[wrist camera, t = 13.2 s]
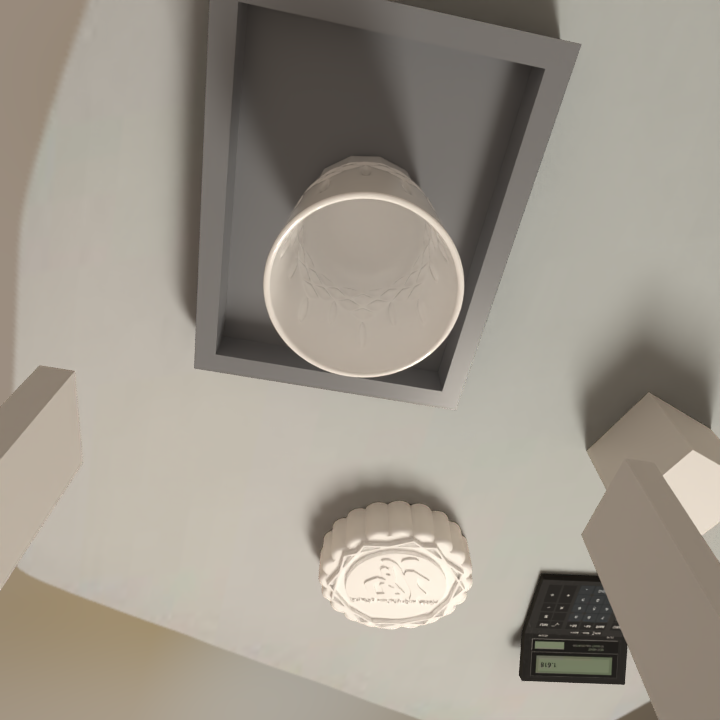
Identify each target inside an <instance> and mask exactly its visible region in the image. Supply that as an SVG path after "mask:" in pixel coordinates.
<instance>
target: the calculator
mask: <svg viewBox="0 0 720 720" xmlns="http://www.w3.org/2000/svg"><path fill="white" fill-rule="evenodd" d="M626 658H627V643H626V640H625V638H624V636H623V633H622V631H621V628H620V626H619V624H618V621H617V619H616V616H615V614H614V612H613V609H612V607H611V604H610V602H609V600H608V597H607V595H606V593H605V590H604V588H603V585H602V583H601V581H600V578H599V576H584V575H561V574H541V576H540V579H539V582H538V585H537V588H536V591H535V594H534V597H533V600H532V603H531V606H530V609H529V612H528V615H527V618H526V621H525V624H524V627H523V630H522V638H521V652H520V667H519V676H520V678H521V680H522V681H543V682H569V683H595V684H622V685H625V673H626Z"/></svg>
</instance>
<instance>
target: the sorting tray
mask: <svg viewBox="0 0 720 720" xmlns="http://www.w3.org/2000/svg"><path fill="white" fill-rule="evenodd" d="M580 47H581V44H579V43H574V42H570V41H565V40H561V39H556V38H552V37H547V36H543V35H539V34H534V33H530V32H525V31H521V30H516V29H512V28H507V27H503V26H498V25H494V24H490V23H485V22H481V21H476V20H472V19H467V18H463V17H458V16H454V15H450V14H445V13H441V12H436V11H432V10H427V9H423V8H418V7H414V6H409V5H405V4H401V3H396V2H392V1H387V0H209V21H208V45H207V69H206V93H205V117H204V142H203V166H202V190H201V214H200V239H199V263H198V287H197V311H196V335H195V360H194V368H195V369H201V370H208V371H214V372H220V373H226V374H233V375H239V376H245V377H251V378H257V379H264V380H270V381H276V382H282V383H289V384H295V385H301V386H307V387H313V388H320V389H326V390H332V391H338V392H344V393H351V394H357V395H363V396H369V397H376V398H382V399H388V400H394V401H400V402H407V403H413V404H419V405H425V406H432V407H438V408H444V409H450V410H456V409H457V406H458V403H459V400H460V397H461V394H462V392H463V389H464V386H465V383H466V380H467V377H468V374H469V371H470V368H471V365H472V362H473V359H474V357H475V354H476V351H477V348H478V345H479V342H480V339H481V336H482V333H483V330H484V327H485V324H486V321H487V319H488V316H489V313H490V310H491V307H492V304H493V301H494V298H495V295H496V292H497V289H498V286H499V284H500V281H501V278H502V275H503V272H504V269H505V266H506V263H507V260H508V257H509V254H510V251H511V249H512V246H513V243H514V240H515V237H516V234H517V231H518V228H519V225H520V222H521V219H522V216H523V214H524V211H525V208H526V205H527V202H528V199H529V196H530V193H531V190H532V187H533V184H534V181H535V178H536V176H537V173H538V170H539V167H540V164H541V161H542V158H543V155H544V152H545V149H546V146H547V143H548V141H549V138H550V135H551V132H552V129H553V126H554V123H555V120H556V117H557V114H558V111H559V108H560V106H561V103H562V100H563V97H564V94H565V91H566V88H567V85H568V82H569V79H570V76H571V73H572V71H573V68H574V65H575V62H576V59H577V56H578V53H579V50H580ZM350 156H379V157H382V158H384V159H386V160H388V161H390V162H391V163H393V164H395V165H397V166H399V167H401V168H403V169H405V170H406V171H407V172H408V174H409V175H410V177H411V178H412V179H413V181H414V182H415V183H416V184H417V185H418V186H419V187H420V188H421V190H422V191H423V192H424V194H425V195H426V197H427V198H428V199H429V201H430V203H431V204H432V206H433V207H434V209H435V211H436V213H437V214H438V216H439V218H440V220H441V222H442V223H443V225H444V227H445V229H446V231H447V232H448V234H449V236H450V237H451V239H452V241H453V243H454V244H455V246H456V249H457V251H458V253H459V256H460V259H461V263H462V267H463V273H464V296H463V302H462V306H461V310H460V313H459V316H458V318H457V320H456V322H455V325H454V326H453V328H452V330H451V331H450V333H449V335H448V336H447V337H446V339H445V340H444V341H443V342H442V343H441V345H440V346H439V347H438V348H437V349H436V350H435V351H433V352H432V353H431V354H430V355H429V356H427V357H426V358H425V359H423V360H422V361H420V362H418V363H417V364H415V365H413V366H411V367H409V368H407V369H404V370H402V371H399V372H396V373H393V374H389V375H384V376H378V377H350V376H343V375H339V374H335V373H331V372H328V371H326V370H323V369H321V368H319V367H316V366H314V365H313V364H311V363H309V362H307V361H306V360H304V359H303V358H302V357H300V356H299V355H298V354H296V353H295V352H294V351H293V350H292V349H291V348H290V347H289V346H288V345H287V344H286V343H285V342H284V340H283V339H282V338H281V336H280V335H279V334H278V332H277V331H276V329H275V327H274V325H273V323H272V321H271V319H270V317H269V314H268V311H267V308H266V304H265V298H264V290H263V280H264V271H265V266H266V262H267V258H268V255H269V253H270V250H271V248H272V246H273V244H274V242H275V240H276V239H277V237H278V235H279V234H280V232H281V230H282V228H283V227H284V225H285V223H286V221H287V220H288V218H289V216H290V214H291V212H292V211H293V209H294V207H295V206H296V204H297V203H298V201H299V200H300V198H301V197H302V195H303V194H304V193H305V191H306V190H307V189H308V187H309V186H310V185H311V184H312V183H314V181H315V180H316V179H317V178H318V176H319V175H320V174H321V172H322V171H323V170H324V169H325V168H327V167H329V166H331V165H333V164H335V163H337V162H339V161H341V160H343V159H345V158H347V157H350Z"/></svg>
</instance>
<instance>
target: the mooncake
mask: <svg viewBox="0 0 720 720" xmlns="http://www.w3.org/2000/svg"><path fill="white" fill-rule="evenodd" d="M471 572H472V564H471V559H470V554H469V549H468V544H467V540H466V538H465V537H464V536H462V534H461V529H460V527H459V525H458V524H456V523H455V522H451V521H449V520H448V517H447V515H446V514H445V513H443V512H441V511H431V510H430V508H429V507H428V506H426V505H424V504H413V505H409V504H408V503H407V502H404V501H393V502H391V503H389V504H388V505H387V504H385V503H382V502H376V503H372V504H370V505H369V506H368V507H367V508H366V509H363V508H357V509H354V510H352V511H350V512H349V514H348V516H347V518H341V519H339V520H337V521H336V522H335V523H334V524H333V530H332V531H329V532H328V533H326V535H325V536H324V543H323V548H322V549H321V555H320V566H319V582H320V584H321V585H322V594H323V596H324V597H325V598H326V599H328V600H330V603H331V606H332V608H333V609H334V610H336V611H338V612H344V614H345V616H346V617H347V618H348V619H350V620H352V621H358V622H359V623H364V624H365V625H367V626H370V627H376V626H377V627H378V628H380V629H381V628H387V629H396V628H399V627H400V626H403V627H406V628H414V627H417V626H419V625H426V624H427V623H433V622H435V621H437V620H438V619H439V618H440V617H444V615H448V614H450V613H452V612H453V611H454V610H455V607H456V605H457V604H460V603H462V602H463V601H464V600H465V599H466V597H467V592H466V591H467V590H469V589H470V588H471V586H472V583H473V581H472V575H471Z"/></svg>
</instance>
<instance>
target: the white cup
mask: <svg viewBox="0 0 720 720" xmlns="http://www.w3.org/2000/svg"><path fill="white" fill-rule="evenodd" d="M263 290H264V298H265V304H266V308H267V311H268V314H269V317H270V319H271V321H272V323H273V325H274V327H275V329H276V331H277V332H278V334H279V335H280V336H281V338H282V339H283V340H284V342H285V343H286V344H287V345H288V346H289V347H290V348H291V349H292V350H293V351H294V352H295V353H296V354H298V355H299V356H300V357H302V358H303V359H304V360H306V361H307V362H309V363H311V364H313V365H314V366H316V367H319V368H321V369H323V370H326V371H328V372H331V373H335V374H339V375H343V376H350V377H378V376H384V375H389V374H393V373H396V372H399V371H402V370H404V369H407V368H409V367H411V366H413V365H415V364H417V363H418V362H420V361H422V360H423V359H425V358H426V357H427V356H429V355H430V354H431V353H432V352H433V351H435V350H436V349H437V348H438V347H439V346H440V345H441V343H442V342H443V341H444V340H445V339H446V337H447V336H448V335H449V333H450V331H451V330H452V328H453V326H454V325H455V322H456V320H457V318H458V316H459V313H460V310H461V306H462V302H463V296H464V273H463V267H462V263H461V259H460V256H459V253H458V251H457V249H456V246H455V244H454V243H453V241H452V239H451V237H450V236H449V234H448V232H447V231H446V229H445V227H444V225H443V223H442V222H441V220H440V218H439V216H438V214H437V213H436V211H435V209H434V207H433V206H432V204H431V203H430V201H429V199H428V198H427V197H426V195H425V194H424V192H423V191H422V190H421V188H420V187H419V186H418V185H417V184H416V183H415V182H414V181H413V179H412V178H411V177H410V175H409V174H408V172H407V171H406V170H405V169H403V168H401V167H399V166H397V165H395V164H393V163H391V162H390V161H388V160H386V159H384V158H382V157H379V156H350V157H347V158H345V159H343V160H341V161H339V162H337V163H335V164H333V165H331V166H329V167H327V168H325V169H324V170H323V171H322V172H321V174H320V175H319V176H318V178H317V179H316V180H315V181H314V183H312V184H311V185H310V186H309V187H308V189H307V190H306V191H305V193H304V194H303V195H302V197H301V198H300V200H299V201H298V203H297V204H296V206H295V207H294V209H293V211H292V212H291V214H290V216H289V218H288V220H287V221H286V223H285V225H284V227H283V228H282V230H281V232H280V234H279V235H278V237H277V239H276V240H275V242H274V244H273V246H272V248H271V250H270V253H269V255H268V258H267V262H266V266H265V271H264V280H263Z"/></svg>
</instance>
